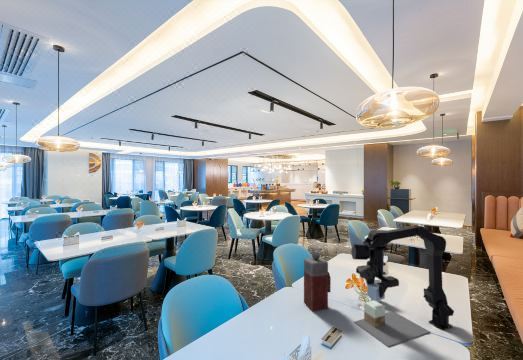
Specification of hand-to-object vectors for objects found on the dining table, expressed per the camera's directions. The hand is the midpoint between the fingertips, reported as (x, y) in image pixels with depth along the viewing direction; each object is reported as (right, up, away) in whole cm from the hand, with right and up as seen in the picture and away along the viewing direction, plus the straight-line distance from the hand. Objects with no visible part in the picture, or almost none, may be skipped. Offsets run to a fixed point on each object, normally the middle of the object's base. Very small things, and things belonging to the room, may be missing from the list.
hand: (375, 294), depth 112 cm
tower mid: (0, -8, 0) cm, 8 cm away
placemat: (+5, -13, -3) cm, 14 cm away
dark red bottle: (-22, -13, +16) cm, 30 cm away
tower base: (0, -12, 0) cm, 12 cm away
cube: (0, -1, 0) cm, 1 cm away
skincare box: (+8, -13, +21) cm, 26 cm away
